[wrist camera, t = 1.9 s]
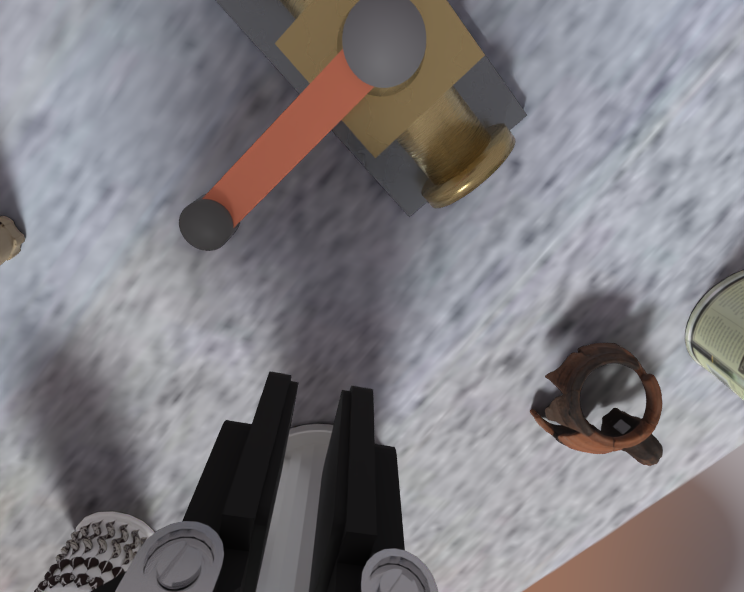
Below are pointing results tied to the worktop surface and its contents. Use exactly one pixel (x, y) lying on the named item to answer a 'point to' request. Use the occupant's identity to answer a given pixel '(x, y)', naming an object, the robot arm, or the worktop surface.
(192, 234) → the lever
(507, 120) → the valve
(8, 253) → the handle
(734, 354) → the coffee can
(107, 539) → the white patterned cylinder
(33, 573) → the worktop surface
